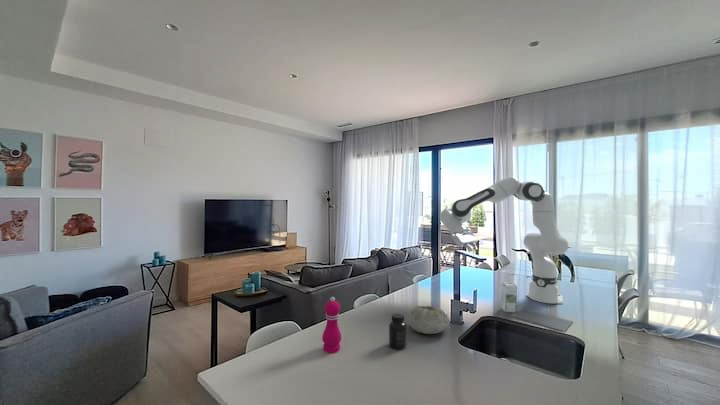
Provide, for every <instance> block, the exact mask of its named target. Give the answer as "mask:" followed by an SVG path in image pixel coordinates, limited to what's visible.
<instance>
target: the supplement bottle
mask: <svg viewBox="0 0 720 405" xmlns="http://www.w3.org/2000/svg"><path fill="white" fill-rule="evenodd" d="M388 346H389V347H390V348H391V349H393V350H397V351H399V350H404V349H405V348H406V347H407V324H406V322H405V315H404V314H402V313H398V312H397V313H393V314H391V321H389V323H388Z"/></svg>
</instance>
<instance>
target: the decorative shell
mask: <svg viewBox="0 0 720 405" xmlns="http://www.w3.org/2000/svg"><path fill="white" fill-rule="evenodd" d="M408 314H409V315H408V323H409V326H410V327H411V328H412V329H413V330H414V331H416V332H417V333H422V334H426V335H433V334H434V335H435V334H440V333H442V332H444V331H445V330H447V329H449V326H450V323H451V322H450V321H451V320H450V318H449V316H448V313H446V312H445V311H444V310H443V309H440V308H439V307H435V306H433V305H418V306H414V307H413V308H412V309H410V312H409V313H408Z"/></svg>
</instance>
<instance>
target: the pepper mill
mask: <svg viewBox="0 0 720 405" xmlns="http://www.w3.org/2000/svg"><path fill="white" fill-rule="evenodd" d="M329 298H330V299H329V301H327V302H326V303H325V305H324V312H325V319H326V326H325V328H324V330H323V333H322V338H321V339H322V340H321V341H322V342H323V351H324V352H325V353H327V354H335V353H338V352H339V351H340V348H341V341H342V333H341V331H340V328H339V325H338V320H339V318H340V316H339V315H340V314H339V313H340V311H341V305H340V303H339V301H336V298H335V297H334V296H331V297H329Z"/></svg>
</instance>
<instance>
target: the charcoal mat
mask: <svg viewBox="0 0 720 405" xmlns="http://www.w3.org/2000/svg"><path fill="white" fill-rule="evenodd" d="M511 317H512V318H514V319H517V320H521V321H523V322H527V323H531V324H535V325H538V326H542V327H545V328H548V327H549V329H552V328H553V329H552V330H555V329H557V330H556V331H559V330H561V331H560V332H562V331H564V332H563V333H566V331H568V329H569V328H570V327H571V325H573V323H574V321H572V320H570V319H566V318H561V317H557V316H554V315H550V314H546V313H543V312H539V311H538V312H537V311H534V310H530V309H526V308H522V309H521V310H519V311H517V312H516V313H515V314H514V315H512V316H511Z"/></svg>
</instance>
